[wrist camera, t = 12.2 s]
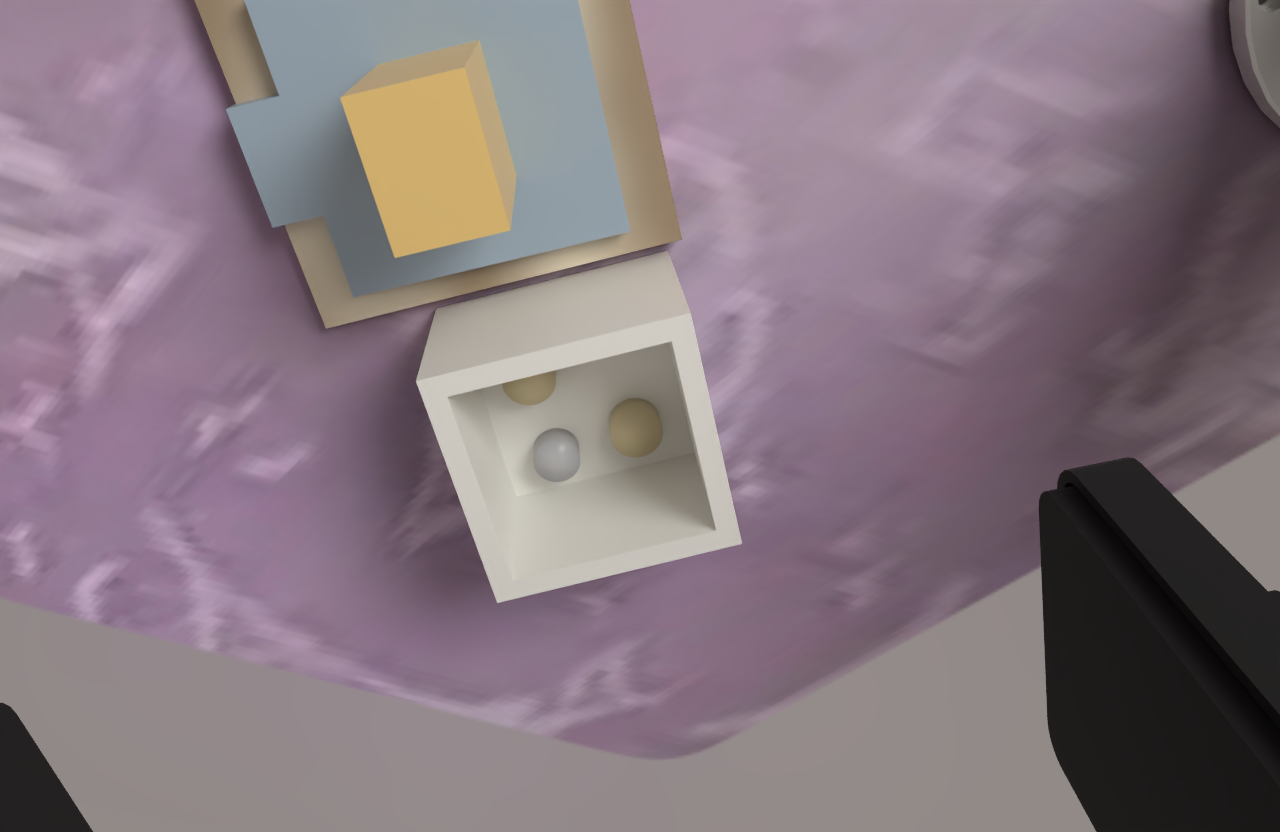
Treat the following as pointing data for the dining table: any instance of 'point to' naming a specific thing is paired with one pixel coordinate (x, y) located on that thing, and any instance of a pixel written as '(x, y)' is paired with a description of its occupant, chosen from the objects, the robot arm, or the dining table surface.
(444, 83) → the lid
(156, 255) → the dining table surface
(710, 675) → the dining table surface
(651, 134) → the board
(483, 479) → the tub
